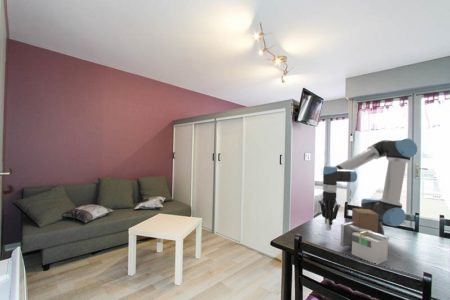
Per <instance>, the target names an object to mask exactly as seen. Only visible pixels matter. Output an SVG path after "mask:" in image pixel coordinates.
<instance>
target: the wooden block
mask: <svg viewBox="0 0 450 300" xmlns="http://www.w3.org/2000/svg"><path fill="white" fill-rule="evenodd" d="M351 211H352V212H351V222H353V221H354V222H356V226H357V227H360V228H363V229H366V230H369V231H373V232H376V233H378V214H377V213H375V212H373V211H371V210H367V209H361V208H356V207H355V208H354V207H353V208H352V210H351ZM356 232H358V231H357V230H356Z"/></svg>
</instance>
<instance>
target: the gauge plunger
mask: <svg viewBox="0 0 450 300" xmlns="http://www.w3.org/2000/svg"><path fill="white" fill-rule="evenodd" d="M356 230H357V231H360V232H361V233H360V244H362V235H364V234H369V235H372V236H375V237H378V238H381V239H384V240H388V241H389V240H390V236H388V235H385V234H384V235H382V234H379V233H376V232H373V231H369V230H366V229H363V228H360V227H357V226H356V222H354V221H353V222H352V221H349V222H345V223H341V224H340V242H339V243H340V244H339V245H340V247H342V248H345V247H347V246H350V245H351V246H352V233H354V232H356Z"/></svg>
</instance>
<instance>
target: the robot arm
mask: <svg viewBox="0 0 450 300" xmlns="http://www.w3.org/2000/svg"><path fill="white" fill-rule="evenodd" d="M417 153H418V146H417V143H416V142H415V141H414V140H413V139H411V138H408V137H399V138H387V139H382V140H380V141H377V142H375V143H373V144H371V145H370V146H368V147H367V148H366V149H365V150H364V151H361V152H359V153H358V154H356V155H354V156H352V157H350V158H349V159H346V160H345V161H342V162H340V163H339V164H337V165H335V166H331V165H325V166H323V171H322V172H323V173H322V175H323V176H322V190H323V191H322V199H321V200H319V201H318V203H319V205H320V210H321V211H320V212H321V216H322V217H323V218H324V222H325V224H326V225H325V230H326V231H331V230H332V225H333V220H336V219H337V215H338V212H339V209H340V207H341V204H339V203H338V201H337V185H338V184H337V183H338V182H339V183H355V182H356V181H357V179H358V174H357V171H356V169H358V168H360V167H361V166H363V165H365V164H367V163H369V162H371V161H373V160H378V159H380V158H384V157H386V158H385V159H386V160H387V161H388V162H387V163H388V164H387V169H386V173H385V174H386V175H385V181H384V185H383V191H382V195H381V198H380V199H379V198H362V199H361V203H360V209H367V210H371V211H373V212H375V213H377V214H378V233H379V234H382V235H385V230H384V227H383V224H385V225H388V226H391V227H398V226H401V225H402V224H403V223H404V222H405V220H406V218H407V214H406V212H405V210H404V209H403V204H402V203H401V201H400V200H401V195H402V190H403V184H404V178H405V171H406V168H407V166H406V165H407V163H409V162H410V161H411V158H412V157H414V156H415V155H417ZM382 223H383V224H382Z"/></svg>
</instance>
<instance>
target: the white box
mask: <svg viewBox="0 0 450 300" xmlns="http://www.w3.org/2000/svg"><path fill="white" fill-rule="evenodd" d="M360 233H361V232H360V231H358V232H354V233H352V244H351V255H353V256H356V257H357V258H361V259H363V260H365V261H368V262H369V263H372V262H373V263H372V264H374V263H376V264H378V265H380V264H382V263H385V262H386V261H388V248H389V247H388V246H389V239H388V240H384V239H381V238H378V237H375V236H372V235H369V234H364V235H362V244H360ZM376 264H375V265H376Z"/></svg>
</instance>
